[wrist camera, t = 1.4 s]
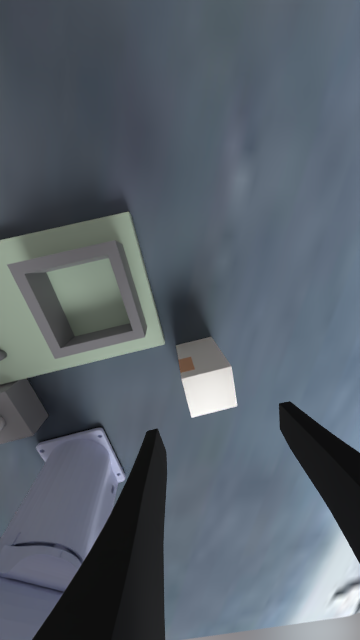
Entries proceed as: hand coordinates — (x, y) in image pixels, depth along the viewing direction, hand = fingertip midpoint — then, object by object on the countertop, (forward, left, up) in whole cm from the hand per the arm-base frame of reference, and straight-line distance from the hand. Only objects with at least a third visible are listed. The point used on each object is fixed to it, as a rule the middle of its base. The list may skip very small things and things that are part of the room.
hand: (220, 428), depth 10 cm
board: (+8, +13, -10) cm, 18 cm away
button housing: (-1, +21, -10) cm, 23 cm away
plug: (-1, 0, -10) cm, 10 cm away
